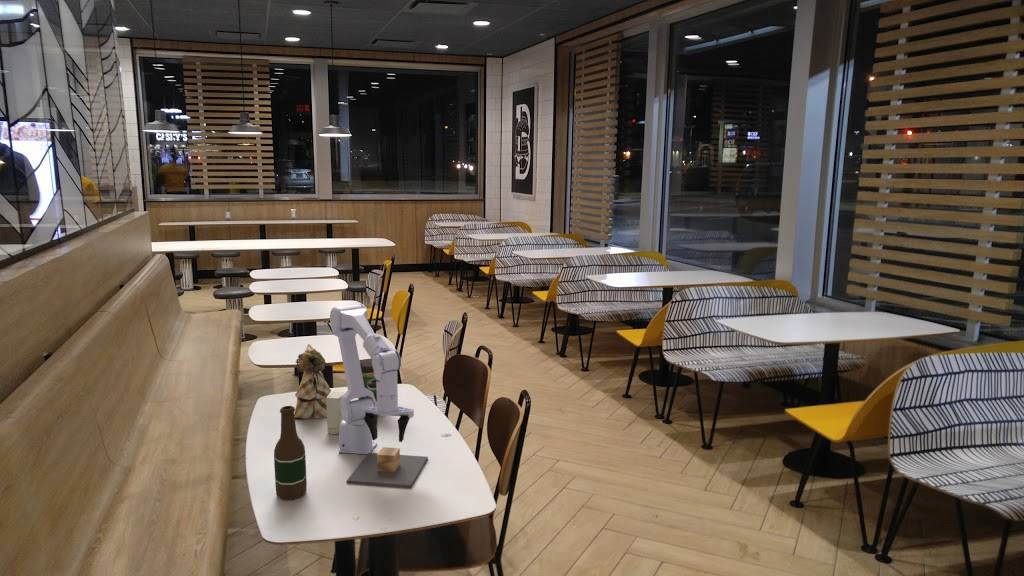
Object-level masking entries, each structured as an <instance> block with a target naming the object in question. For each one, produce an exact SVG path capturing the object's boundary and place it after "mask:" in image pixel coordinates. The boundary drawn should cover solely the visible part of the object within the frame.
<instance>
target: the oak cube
mask: <svg viewBox="0 0 1024 576" xmlns="http://www.w3.org/2000/svg"><path fill="white" fill-rule="evenodd" d="M400 451H401V448H400V447H387V446H382V448H380V450H379V451H378V452H377V453H378V454H377V471H382V472H395V471H396V470H397V468H398V467H399V465H400V455H401V454H400V453H401V452H400Z"/></svg>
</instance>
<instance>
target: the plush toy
mask: <svg viewBox="0 0 1024 576" xmlns="http://www.w3.org/2000/svg"><path fill="white" fill-rule="evenodd" d="M295 363H296V365H295V367H296V369H297V372H298V373H299V372H303V374H302V376H301V377H302V378H301V381H300V384H299V387H298V389H297V391H296V393H295V394H294V396H295V397H296V398H297V399H296V404H295V411H294V415H295V419H301V420H302V419H303V420H304V419H306V420H307V419H309V420H310V419H321V418H323V419H324V418H327V405H326V397H328V396H329V395H331V392H332V390H331V387H330V386H329V384H328V383H327V381H326V379H325V377H324V374H323V373H322V371H324V370H325V369H326V368H325V365H326V364H327V362H326V360H325V357H324V356H323V355H322V354H321V352H319V351H318V350H317V349H316V348H313V347H312V345H311V344H309V343H308V344H307V346H306V347H305V351H304V352H303V353H300V354H299V355H298V356H297V359H296V360H295Z"/></svg>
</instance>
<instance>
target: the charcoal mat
mask: <svg viewBox="0 0 1024 576" xmlns="http://www.w3.org/2000/svg"><path fill="white" fill-rule="evenodd" d="M378 453H379V452H370V453H368V454H365V455H366V456H365V457H364V458H363V459H362V460H361V462H360V463H359V464H358V465H357V467H356V468H355V469H354V470H353V472H351V474H350V476H349V477H348V478H347V479H346V484H351V483H352V484H353V485H365V486H380V487H391V488H394V487H395V488H404V489H405V488H406V489H412V487H413V485H414V484H415V482H416V480H417V479H418V477H419V475H420V474H421V472H422V471H423V468H424V467H423V466H425V464H426V463H427V461H428V460H427V459H429V458H428V456H420V455H408V454H400V465H399V467H398V468H397V470H396V471H395V472H382V471H377V454H378Z"/></svg>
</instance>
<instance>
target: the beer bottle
mask: <svg viewBox="0 0 1024 576" xmlns="http://www.w3.org/2000/svg"><path fill="white" fill-rule="evenodd" d="M295 409H296V407H295V406H292V405H285V406H282V407H281V408H280V410H279V413H280V436H279V439H278V441H277V442H276V444H275V448H274V450H273V463H274V465H273V466H274V481H275V482H274V483H275V494H276V496H277V497H278V498H279V499H280V500H281V501H296V500H297V499H300V498H302V497H304V496H305V494H306V492H307V484H308V483H307V480H308V479H307V463H306V447H305V445H304V443H303V442H304V441H303V440H302V439H301V438H300V437H299V435H298V433H297V424H296V418H295V415H294V414H295Z"/></svg>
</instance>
